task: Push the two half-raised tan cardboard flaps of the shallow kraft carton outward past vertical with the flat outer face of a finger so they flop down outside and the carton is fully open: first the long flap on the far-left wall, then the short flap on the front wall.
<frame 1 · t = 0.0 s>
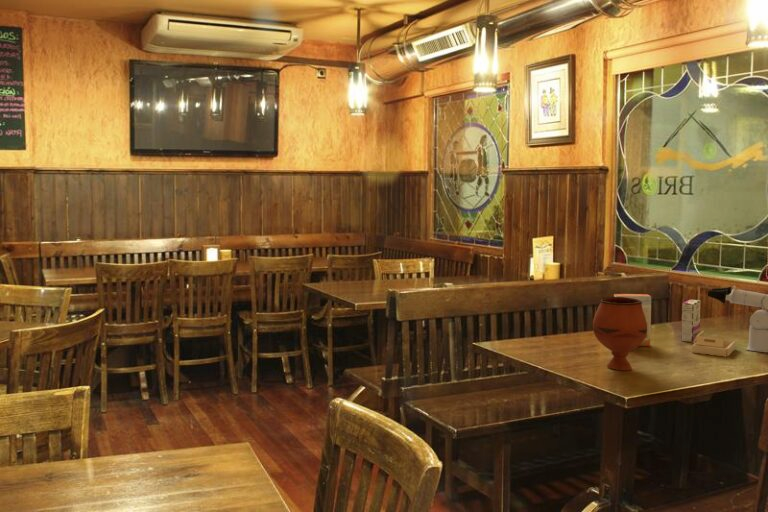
hand: (709, 292, 314), 22 cm above the table, tool horizontal, fingers open, 7 cm apart
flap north: (709, 341, 298), point 5 cm above the table, hinge at 65.0°
cracker box: (630, 345, 315), on the table
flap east: (698, 336, 307), point 5 cm above the table, hinge at 65.0°
carton: (712, 350, 304), on the table
goblet: (618, 368, 278), on the table
candy bar box: (690, 340, 325), on the table
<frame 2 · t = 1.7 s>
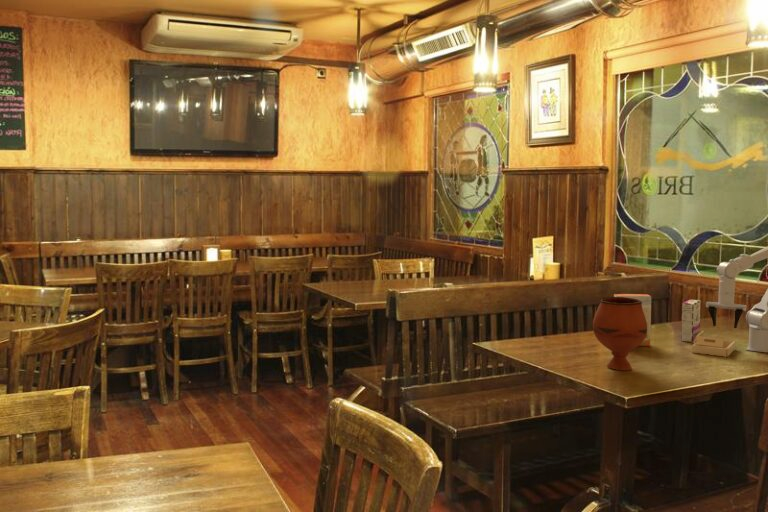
hand: (724, 326, 302), 10 cm above the table, tool pointing down, fingers open, 7 cm apart
nothing on the table moved.
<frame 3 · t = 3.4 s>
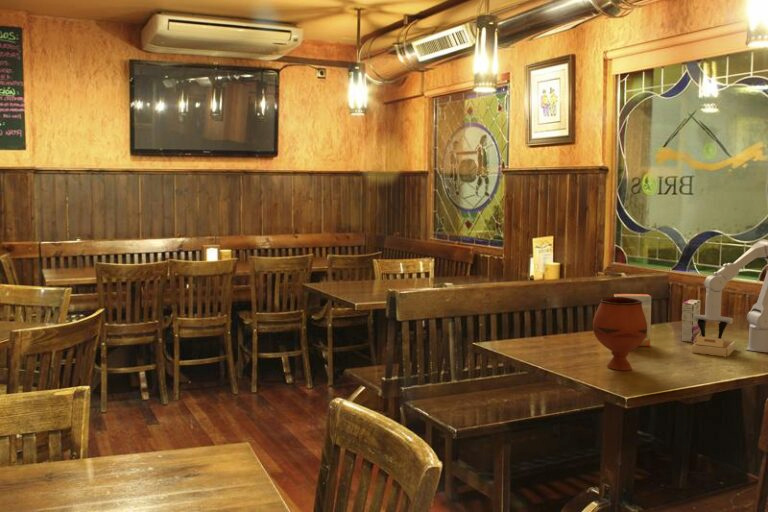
hand: (711, 339, 306), 4 cm above the table, tool pointing down, fingers open, 5 cm apart
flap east: (698, 336, 307), point 5 cm above the table, hinge at 65.8°, touching gripper
everything else where it was.
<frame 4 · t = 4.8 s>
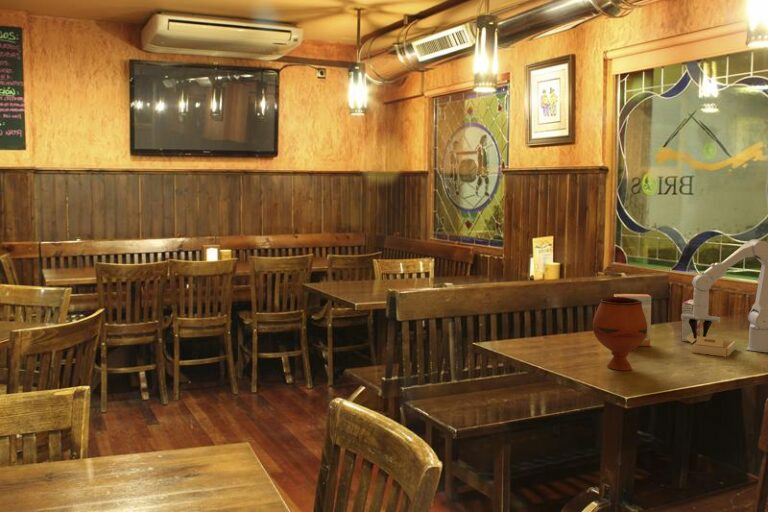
hand: (699, 338, 308), 4 cm above the table, tool pointing down, fingers open, 3 cm apart
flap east: (692, 337, 308), point 4 cm above the table, hinge at 146.7°, touching gripper
everything else where it was.
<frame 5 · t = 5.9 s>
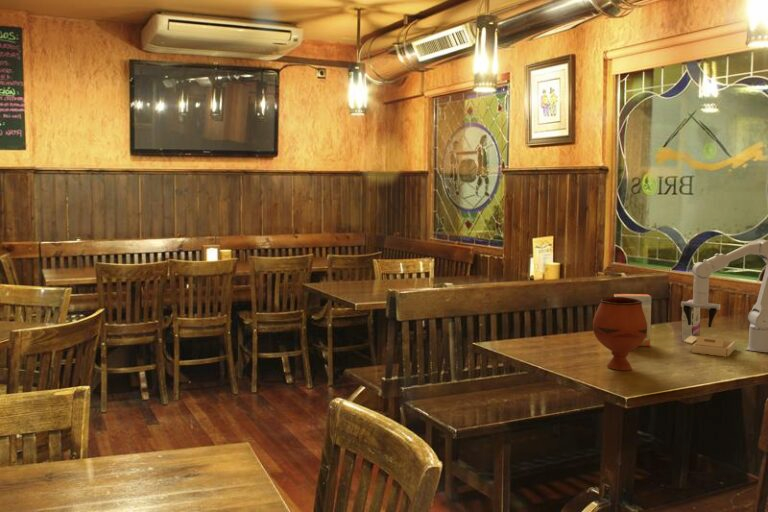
hand: (699, 325, 308), 9 cm above the table, tool pointing down, fingers open, 7 cm apart
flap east: (691, 339, 309), point 4 cm above the table, hinge at 172.4°
everything else where it was.
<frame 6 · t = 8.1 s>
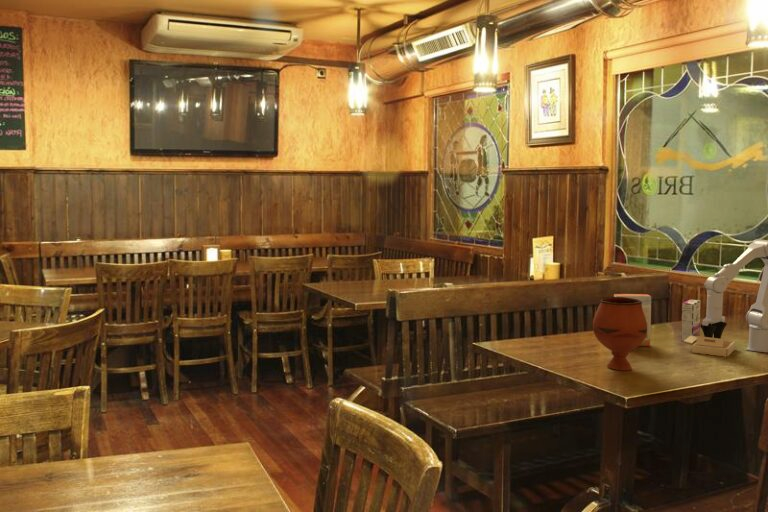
hand: (712, 341, 302), 4 cm above the table, tool pointing down, fingers open, 6 cm apart
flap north: (709, 341, 298), point 5 cm above the table, hinge at 65.5°, touching gripper
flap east: (691, 339, 309), point 4 cm above the table, hinge at 172.7°
everything else where it was.
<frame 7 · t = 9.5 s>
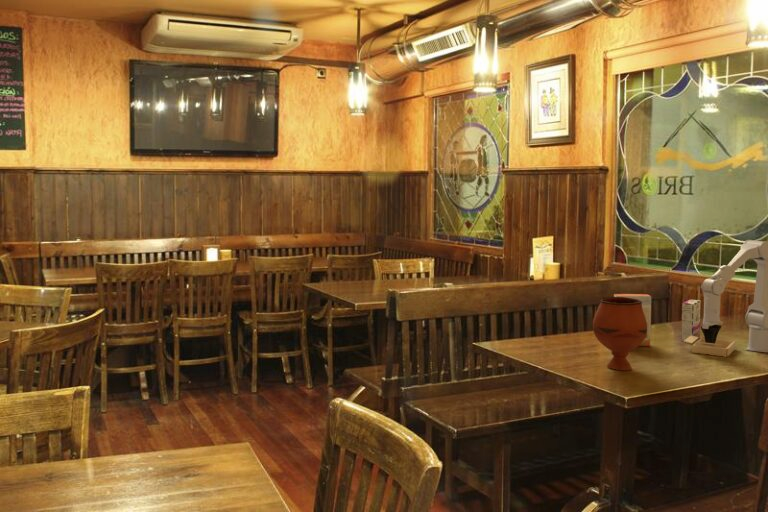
hand: (710, 344, 298), 4 cm above the table, tool pointing down, fingers open, 3 cm apart
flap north: (708, 344, 296), point 4 cm above the table, hinge at 148.8°, touching gripper
everything else where it was.
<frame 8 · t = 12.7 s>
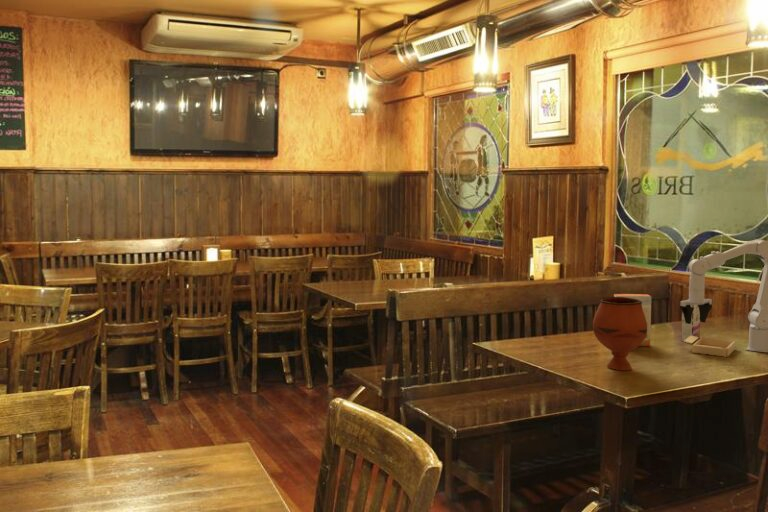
hand: (695, 322, 308), 10 cm above the table, tool pointing down, fingers open, 7 cm apart
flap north: (708, 346, 296), point 4 cm above the table, hinge at 173.9°
everything else where it was.
at the end: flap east at +173° (first picture: +65°); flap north at +174° (first picture: +65°) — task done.
